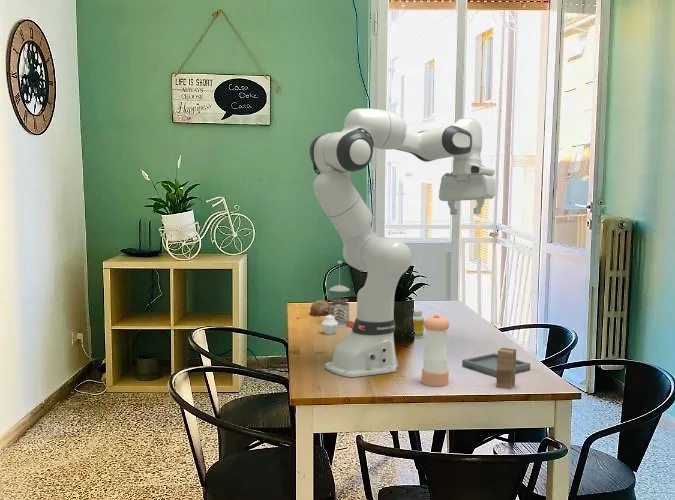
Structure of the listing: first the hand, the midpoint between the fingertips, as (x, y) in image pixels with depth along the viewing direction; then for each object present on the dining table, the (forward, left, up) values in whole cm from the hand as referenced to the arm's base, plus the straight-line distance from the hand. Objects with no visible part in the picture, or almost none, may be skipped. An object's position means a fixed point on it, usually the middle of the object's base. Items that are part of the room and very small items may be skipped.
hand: (465, 214), depth 208 cm
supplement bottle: (+3, +25, -45) cm, 52 cm away
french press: (-9, +57, -45) cm, 73 cm away
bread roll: (-3, +76, -45) cm, 88 cm away
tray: (-4, -18, -45) cm, 49 cm away
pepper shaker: (-29, -18, -45) cm, 57 cm away
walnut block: (-15, -31, -45) cm, 57 cm away
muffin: (-20, +46, -45) cm, 67 cm away
